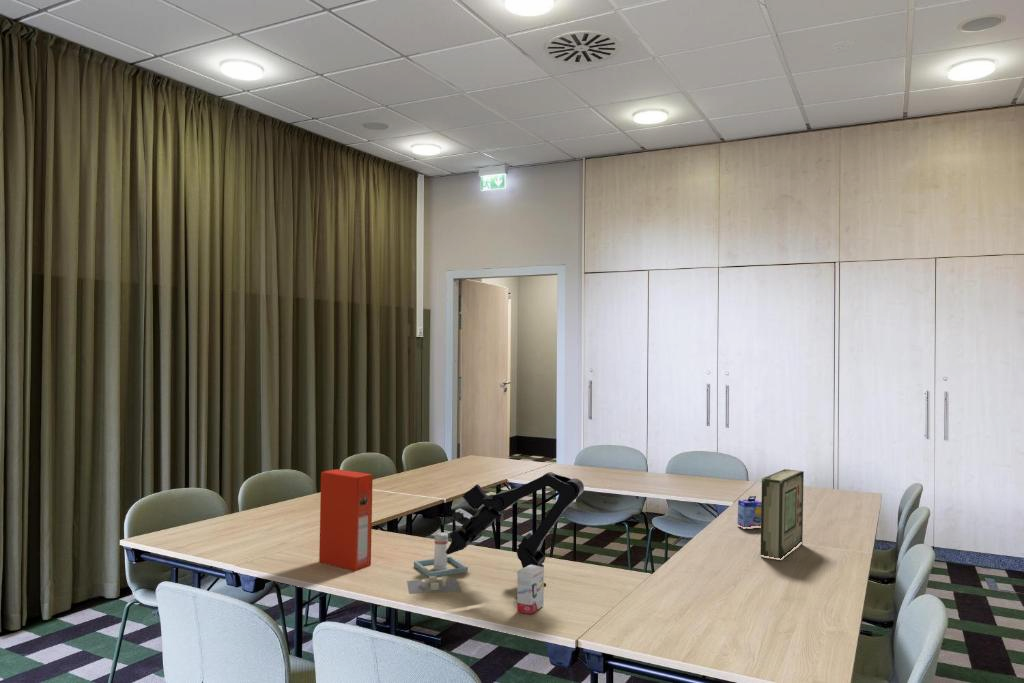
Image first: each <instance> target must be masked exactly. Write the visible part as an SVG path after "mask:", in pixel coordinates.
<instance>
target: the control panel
mask: <svg viewBox="0 0 1024 683" xmlns="http://www.w3.org/2000/svg"><path fill="white" fill-rule="evenodd" d="M804 472H805V471H802V470H796V469H795V470H794V469H787V468H786V469H785V468H784V469H782V470H779V471H777V472H774V473H772V474H769V475H768V476H765V477H762V478H761V500H760V501H761V529H760V555H764V556H769V557H774V558H780V559H781V558H782V557H783V556H785V555H786V554H787V553H788V552H790V551H791V550H792V549H793V548H794V547H796V546H797V545H798V544H799V543H800V542H802V543H803V536H804V535H803V532H804V531H803V528H804V526H803V524H804V523H803V522H804Z"/></svg>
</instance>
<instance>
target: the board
mask: <svg viewBox="0 0 1024 683" xmlns="http://www.w3.org/2000/svg"><path fill="white" fill-rule="evenodd" d="M406 582H407V587H408V594H410V595H413V594H433V593H434V594H435V593H437V594H438V593H453V592H462V590H461V587H460V585H459V582H458V580H457V578H441V579H438V578H437V577H436V576H431V577H428V579H424V578H423V579H418V580H417V579H416V580H406Z"/></svg>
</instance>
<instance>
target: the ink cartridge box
mask: <svg viewBox="0 0 1024 683" xmlns="http://www.w3.org/2000/svg"><path fill="white" fill-rule="evenodd" d="M761 501H762V500H758V499H757V496H756V495H753V496H752V495H750V496H749V497H748V499H738V500H737V524H738V525H740V526H742V527H751V526H761Z"/></svg>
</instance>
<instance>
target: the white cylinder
mask: <svg viewBox="0 0 1024 683" xmlns="http://www.w3.org/2000/svg"><path fill="white" fill-rule="evenodd" d="M448 543H449V533H447V532H443V531H442V532H436V533H434V552H433V553H434V555H433V557H434V558H433V559H434V565H433V570H434V571H441V570H448V563H447V557H448V555H447V554H446V551H447V549H448V547H449V546H448Z"/></svg>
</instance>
